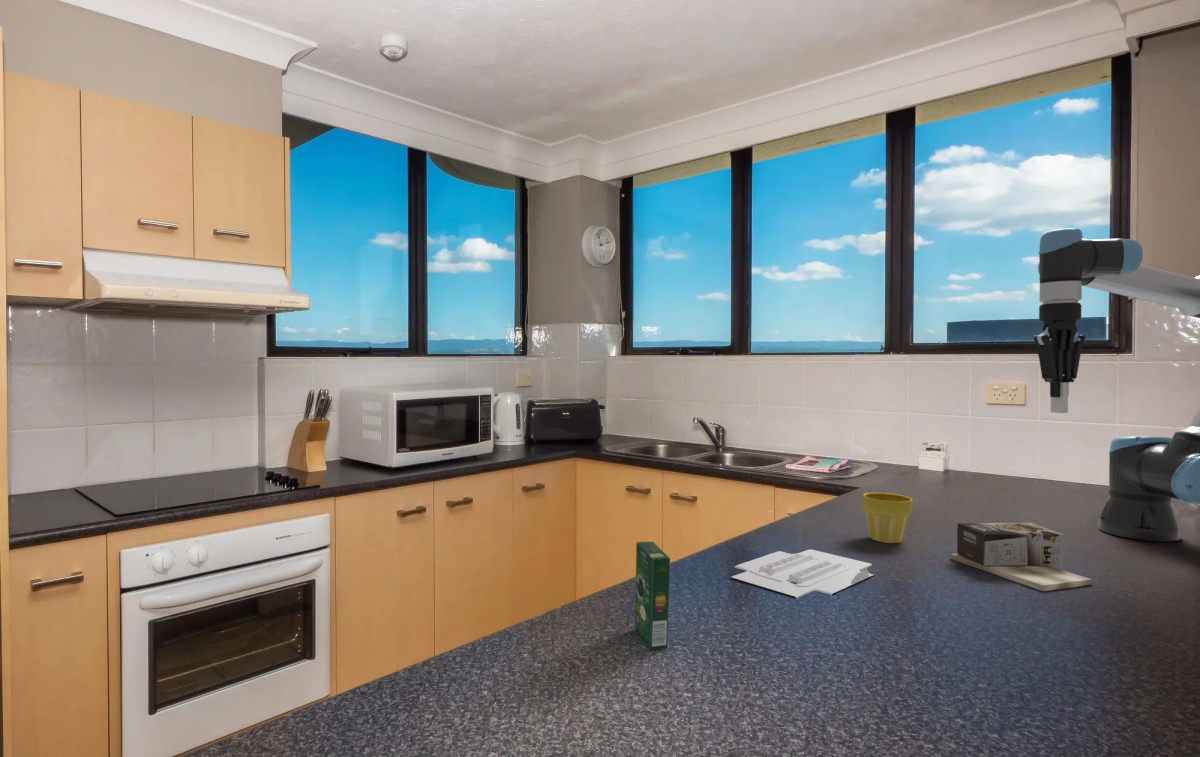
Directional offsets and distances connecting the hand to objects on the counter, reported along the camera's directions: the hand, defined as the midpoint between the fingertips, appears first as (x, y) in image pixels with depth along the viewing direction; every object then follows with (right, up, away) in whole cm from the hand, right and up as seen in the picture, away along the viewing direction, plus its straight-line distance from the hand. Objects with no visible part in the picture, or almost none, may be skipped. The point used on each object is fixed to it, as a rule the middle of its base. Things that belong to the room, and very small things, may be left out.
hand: (1059, 412), depth 146 cm
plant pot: (-35, -29, +7) cm, 46 cm away
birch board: (-19, -30, -15) cm, 38 cm away
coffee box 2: (-10, -26, -11) cm, 29 cm away
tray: (-60, -30, -17) cm, 70 cm away
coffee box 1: (-92, -30, -49) cm, 108 cm away
